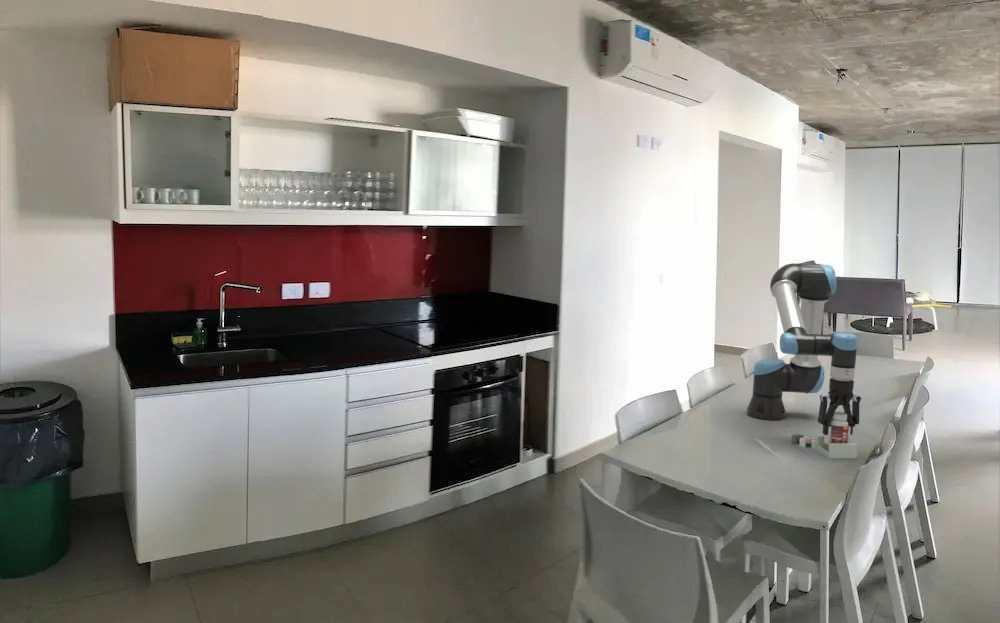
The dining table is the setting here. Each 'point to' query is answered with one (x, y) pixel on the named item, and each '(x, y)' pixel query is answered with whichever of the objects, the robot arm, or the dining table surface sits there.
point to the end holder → (836, 449)
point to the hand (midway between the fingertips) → (836, 443)
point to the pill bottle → (839, 427)
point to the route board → (808, 446)
